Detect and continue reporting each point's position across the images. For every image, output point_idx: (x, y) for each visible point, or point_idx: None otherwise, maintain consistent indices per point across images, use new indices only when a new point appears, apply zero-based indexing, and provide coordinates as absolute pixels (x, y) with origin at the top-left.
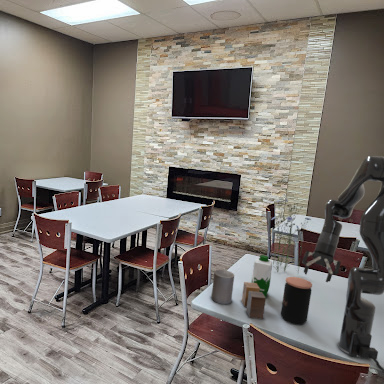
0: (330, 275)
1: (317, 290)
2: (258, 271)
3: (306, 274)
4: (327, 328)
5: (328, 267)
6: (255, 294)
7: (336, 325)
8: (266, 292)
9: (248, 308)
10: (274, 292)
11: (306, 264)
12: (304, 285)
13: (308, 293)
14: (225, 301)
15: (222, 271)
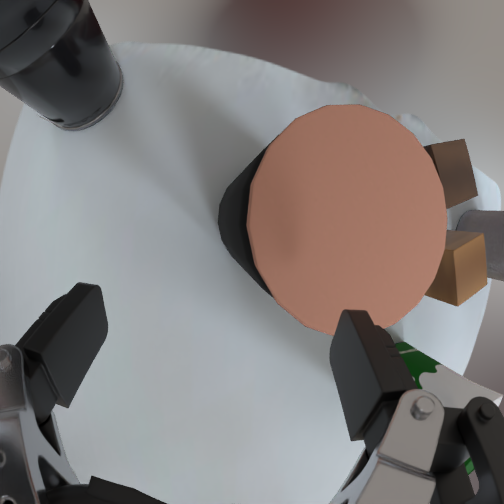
0: (30, 347)
1: (180, 501)
2: (466, 379)
3: (343, 311)
4: (135, 212)
5: (4, 430)
6: (460, 167)
7: (100, 264)
8: None
9: None
10: (326, 419)
11: (435, 403)
12: (327, 137)
13: (264, 149)
14: (469, 214)
15: None
